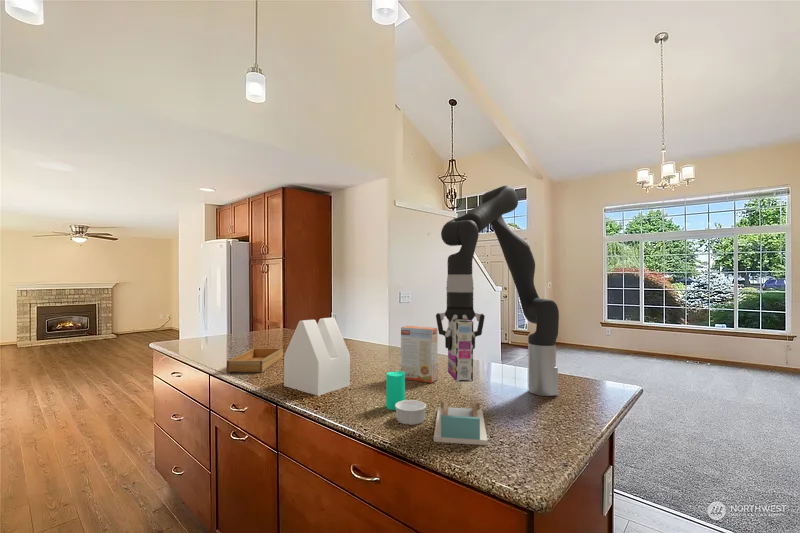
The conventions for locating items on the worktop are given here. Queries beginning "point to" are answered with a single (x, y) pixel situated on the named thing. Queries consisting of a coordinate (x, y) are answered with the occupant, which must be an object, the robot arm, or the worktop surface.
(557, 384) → the robot arm
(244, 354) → the tray
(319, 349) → the slotted house block
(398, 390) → the candle
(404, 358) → the cracker box
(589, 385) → the worktop surface
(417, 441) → the worktop surface
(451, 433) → the slot board
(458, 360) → the candy bar box
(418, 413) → the ramekin
